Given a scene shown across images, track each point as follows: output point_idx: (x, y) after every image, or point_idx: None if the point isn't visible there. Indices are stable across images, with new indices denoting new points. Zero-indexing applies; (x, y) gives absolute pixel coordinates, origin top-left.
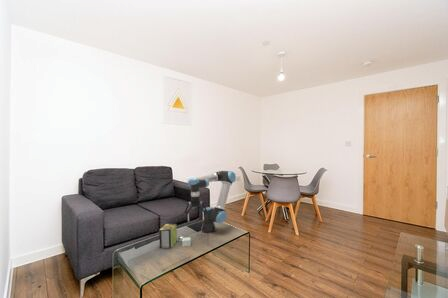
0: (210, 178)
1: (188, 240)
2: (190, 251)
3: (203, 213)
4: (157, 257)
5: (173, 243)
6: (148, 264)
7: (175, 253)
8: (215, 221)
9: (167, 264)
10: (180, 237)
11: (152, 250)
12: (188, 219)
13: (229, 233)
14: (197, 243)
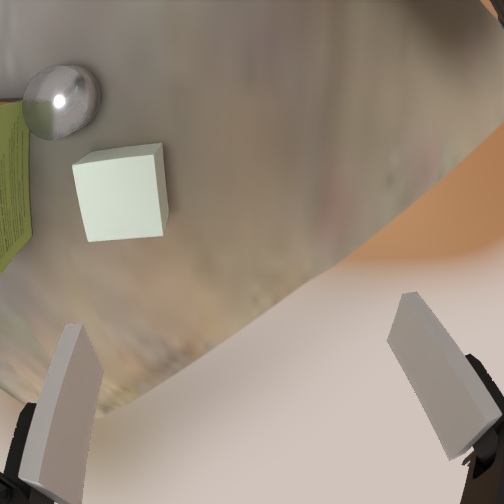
0: None
1: (145, 236)
2: (184, 298)
3: (452, 442)
4: (21, 331)
5: (23, 192)
6: (25, 371)
7: (91, 309)
8: (498, 13)
9: (101, 387)
10: (48, 129)
11: None
12: (91, 400)
13: (492, 55)
14: (229, 173)
